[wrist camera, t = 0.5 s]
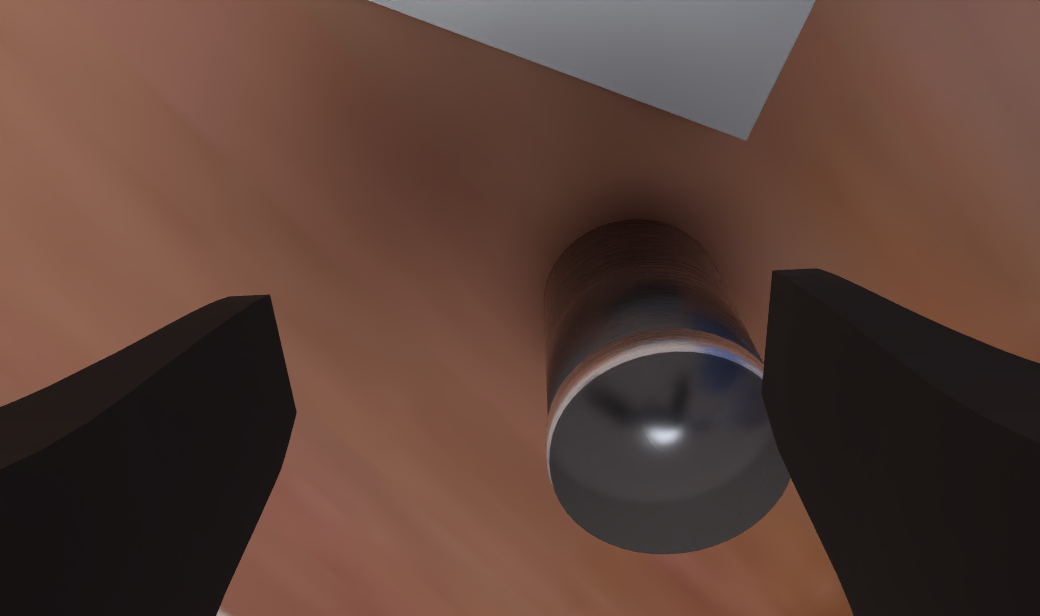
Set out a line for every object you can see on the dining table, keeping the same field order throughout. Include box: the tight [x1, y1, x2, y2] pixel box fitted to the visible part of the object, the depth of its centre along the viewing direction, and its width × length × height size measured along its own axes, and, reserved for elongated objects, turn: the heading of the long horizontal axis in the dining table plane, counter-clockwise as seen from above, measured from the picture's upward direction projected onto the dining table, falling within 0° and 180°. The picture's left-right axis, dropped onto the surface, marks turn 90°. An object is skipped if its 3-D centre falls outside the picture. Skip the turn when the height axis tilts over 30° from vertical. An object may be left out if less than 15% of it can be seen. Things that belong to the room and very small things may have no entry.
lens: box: [544, 220, 791, 554], centre depth 19 cm, size 5×5×7 cm
